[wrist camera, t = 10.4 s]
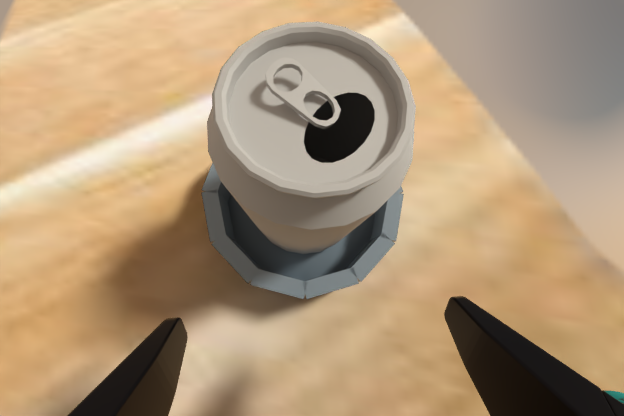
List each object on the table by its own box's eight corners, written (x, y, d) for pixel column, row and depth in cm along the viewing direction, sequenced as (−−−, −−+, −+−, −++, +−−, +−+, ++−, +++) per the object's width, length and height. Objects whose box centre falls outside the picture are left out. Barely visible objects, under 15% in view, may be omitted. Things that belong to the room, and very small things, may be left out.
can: (313, 276, 18) (347, 279, 6) (233, 213, 18) (127, 108, 7) (371, 197, 19) (482, 81, 8) (295, 142, 20) (295, -34, 9)
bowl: (367, 312, 18) (383, 320, 15) (195, 266, 18) (171, 264, 15) (395, 155, 22) (413, 133, 18) (250, 118, 22) (242, 89, 18)
